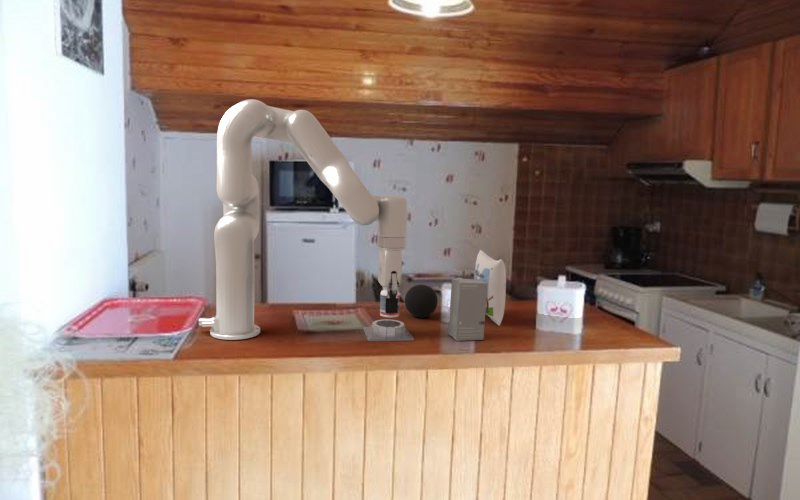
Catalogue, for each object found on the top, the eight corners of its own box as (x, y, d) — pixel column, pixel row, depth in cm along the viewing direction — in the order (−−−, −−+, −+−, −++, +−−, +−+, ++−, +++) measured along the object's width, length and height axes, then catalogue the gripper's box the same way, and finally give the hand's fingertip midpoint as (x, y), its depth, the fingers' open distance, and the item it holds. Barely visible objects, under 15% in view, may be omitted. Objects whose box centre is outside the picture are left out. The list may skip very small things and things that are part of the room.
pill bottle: (396, 318, 150) (398, 285, 148) (377, 317, 151) (378, 284, 149) (400, 313, 155) (402, 281, 154) (382, 312, 156) (383, 280, 155)
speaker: (439, 314, 177) (441, 283, 176) (433, 322, 167) (435, 289, 166) (408, 311, 179) (409, 280, 178) (400, 319, 170) (401, 286, 168)
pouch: (491, 310, 186) (495, 249, 183) (509, 326, 167) (514, 259, 164) (467, 310, 185) (471, 249, 182) (483, 326, 166) (487, 258, 163)
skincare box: (456, 341, 150) (459, 282, 148) (446, 333, 157) (449, 277, 155) (485, 340, 152) (489, 282, 150) (475, 332, 159) (478, 277, 157)
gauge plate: (368, 341, 147) (368, 329, 147) (363, 329, 158) (363, 318, 157) (413, 340, 149) (414, 329, 149) (405, 328, 160) (406, 318, 160)
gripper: (373, 238, 158) (371, 302, 160) (382, 247, 141) (380, 318, 143) (399, 239, 159) (397, 302, 162) (412, 247, 142) (409, 318, 145)
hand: (389, 309), depth 152 cm, fingers closed on pill bottle, 5 cm apart
